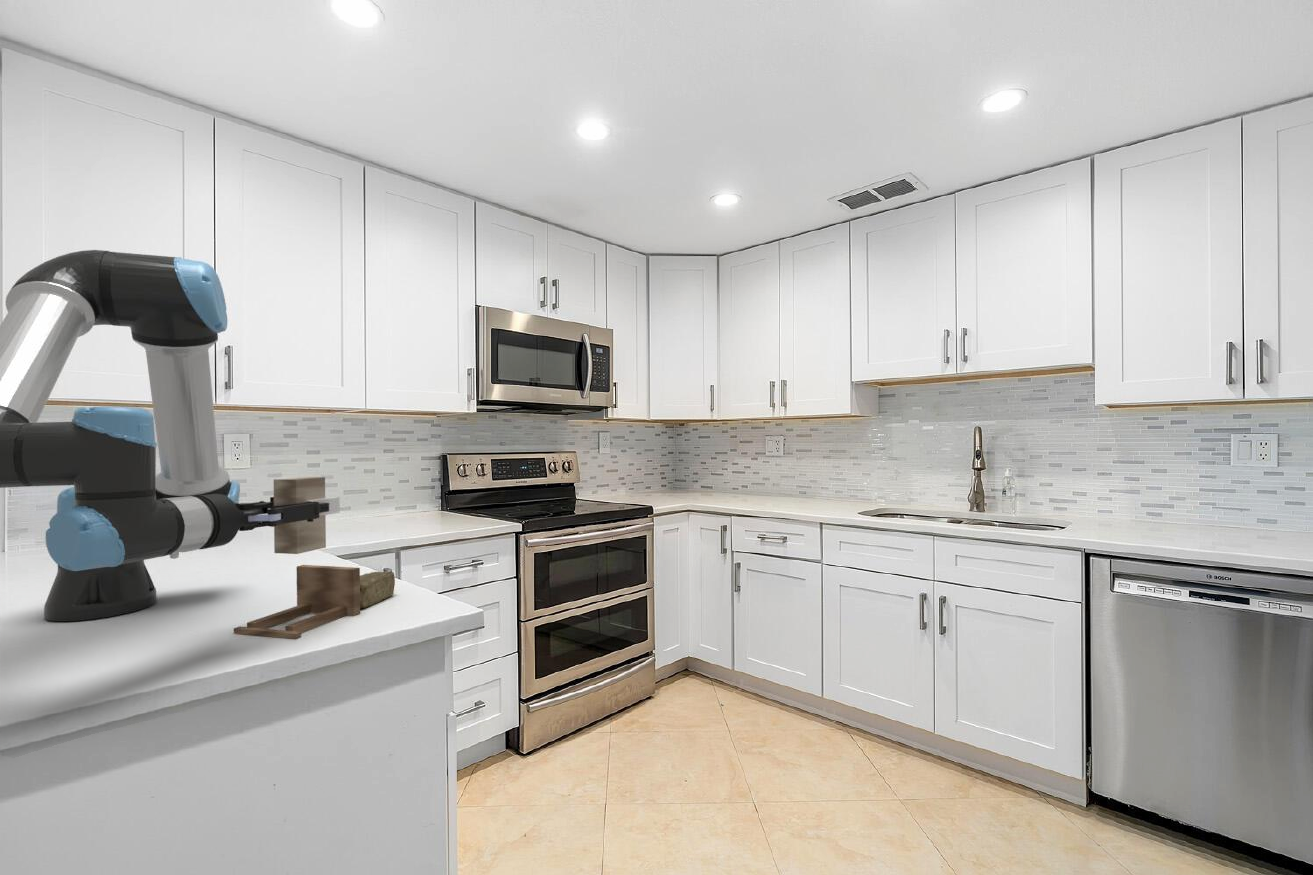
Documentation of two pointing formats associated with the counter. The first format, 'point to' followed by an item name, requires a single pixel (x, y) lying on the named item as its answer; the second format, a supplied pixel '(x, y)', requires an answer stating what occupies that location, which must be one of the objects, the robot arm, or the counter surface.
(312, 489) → the light wooden block
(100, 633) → the counter surface
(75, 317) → the robot arm
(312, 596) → the wooden book stand
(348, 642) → the counter surface
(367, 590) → the stone block
